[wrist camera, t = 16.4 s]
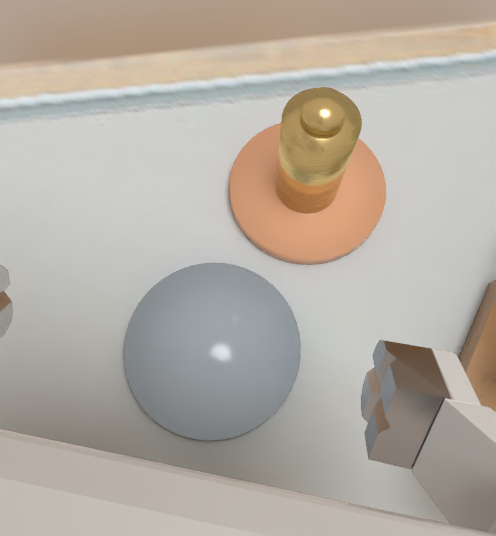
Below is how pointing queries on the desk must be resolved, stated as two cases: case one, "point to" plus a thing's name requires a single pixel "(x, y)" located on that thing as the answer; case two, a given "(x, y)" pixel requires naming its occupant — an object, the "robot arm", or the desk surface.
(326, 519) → the robot arm
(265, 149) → the terracotta dish
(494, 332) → the balance
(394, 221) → the desk surface
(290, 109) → the brass weight
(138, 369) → the grey glossy dome
